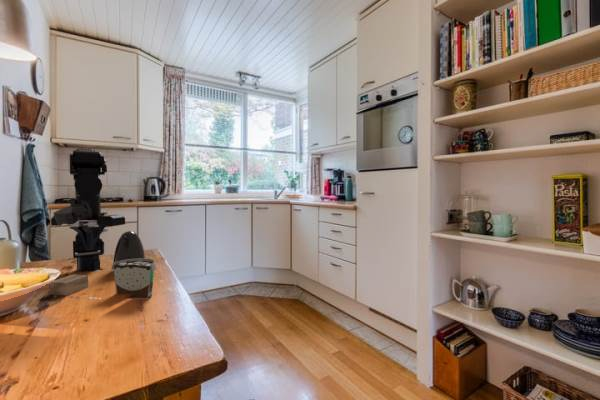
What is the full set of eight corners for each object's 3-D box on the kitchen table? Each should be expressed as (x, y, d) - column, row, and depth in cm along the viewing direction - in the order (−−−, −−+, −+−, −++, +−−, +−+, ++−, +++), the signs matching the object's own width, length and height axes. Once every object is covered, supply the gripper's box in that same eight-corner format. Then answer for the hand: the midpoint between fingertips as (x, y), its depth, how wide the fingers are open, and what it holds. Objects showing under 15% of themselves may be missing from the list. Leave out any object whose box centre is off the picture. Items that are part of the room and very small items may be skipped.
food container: (165, 291, 86) (165, 258, 85) (153, 299, 80) (152, 263, 79) (126, 290, 87) (126, 257, 86) (111, 297, 81) (111, 262, 80)
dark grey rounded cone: (107, 277, 99) (106, 233, 98) (121, 269, 109) (120, 229, 108) (139, 276, 100) (138, 233, 99) (150, 268, 110) (149, 228, 110)
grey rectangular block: (50, 294, 80) (49, 282, 80) (73, 286, 87) (73, 274, 86) (66, 295, 79) (65, 282, 79) (88, 286, 86) (87, 275, 86)
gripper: (29, 196, 74) (31, 255, 75) (93, 196, 72) (94, 258, 72) (69, 195, 85) (70, 247, 86) (126, 195, 83) (127, 249, 83)
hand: (89, 250), depth 82 cm, fingers closed
